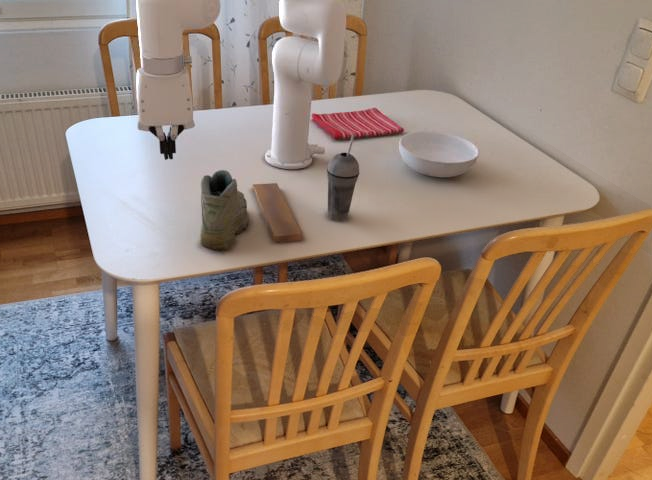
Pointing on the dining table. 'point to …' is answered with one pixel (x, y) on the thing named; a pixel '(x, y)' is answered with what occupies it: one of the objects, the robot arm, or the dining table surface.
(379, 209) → the dining table surface
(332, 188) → the beverage cup
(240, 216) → the sneaker
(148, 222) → the dining table surface
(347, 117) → the dish towel
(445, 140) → the serving bowl
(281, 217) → the oak board
